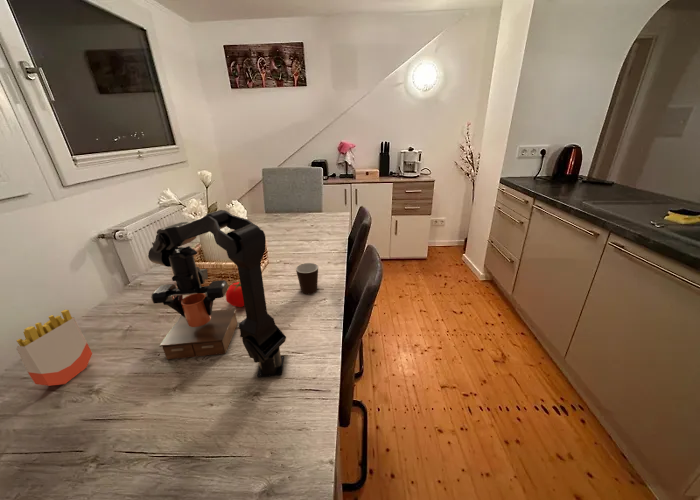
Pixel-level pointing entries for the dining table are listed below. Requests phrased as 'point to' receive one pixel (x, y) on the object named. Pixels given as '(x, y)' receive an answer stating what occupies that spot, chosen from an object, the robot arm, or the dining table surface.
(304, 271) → the coffee mug
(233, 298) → the tomato
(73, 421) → the dining table surface
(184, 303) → the cup
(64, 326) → the french fries container
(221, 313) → the low cabinet
